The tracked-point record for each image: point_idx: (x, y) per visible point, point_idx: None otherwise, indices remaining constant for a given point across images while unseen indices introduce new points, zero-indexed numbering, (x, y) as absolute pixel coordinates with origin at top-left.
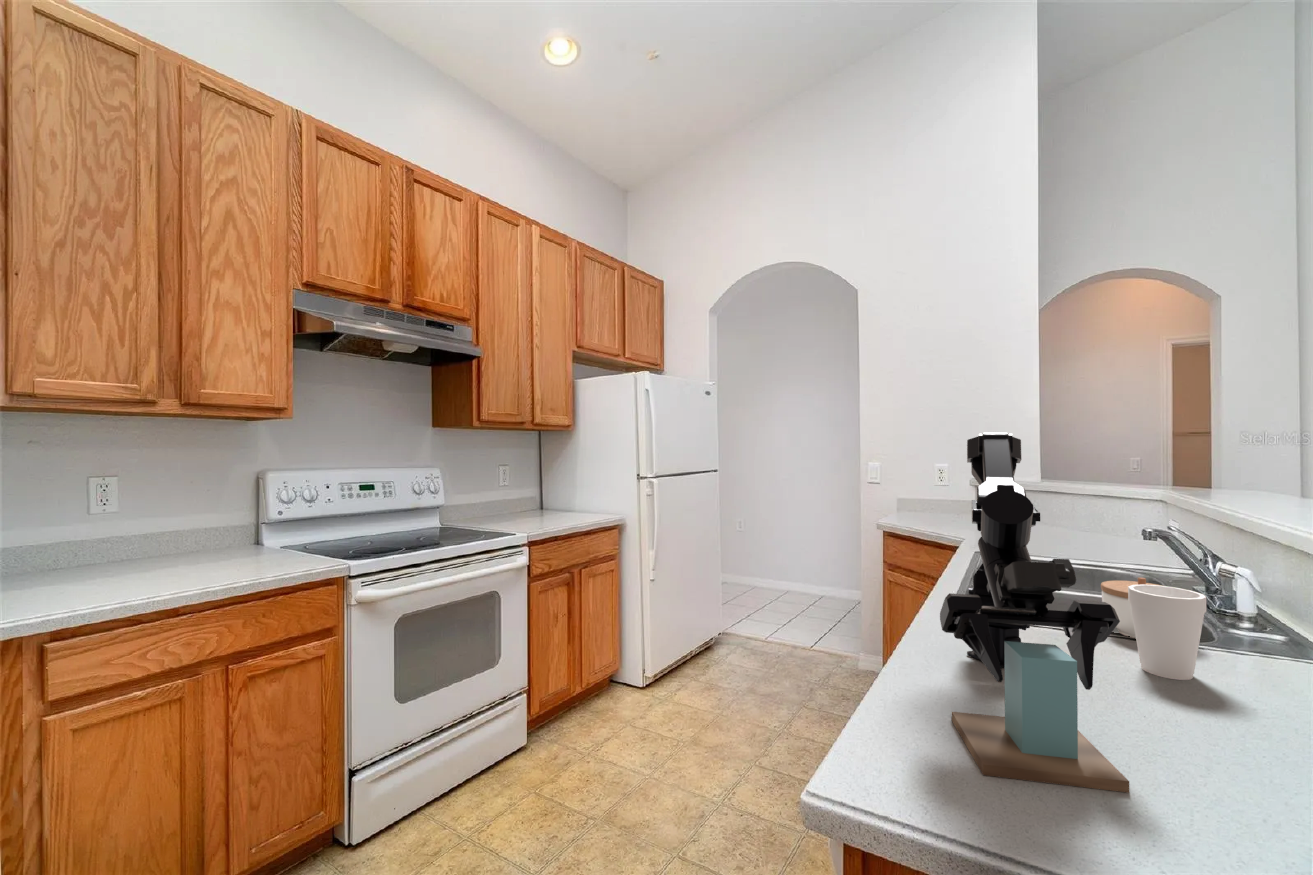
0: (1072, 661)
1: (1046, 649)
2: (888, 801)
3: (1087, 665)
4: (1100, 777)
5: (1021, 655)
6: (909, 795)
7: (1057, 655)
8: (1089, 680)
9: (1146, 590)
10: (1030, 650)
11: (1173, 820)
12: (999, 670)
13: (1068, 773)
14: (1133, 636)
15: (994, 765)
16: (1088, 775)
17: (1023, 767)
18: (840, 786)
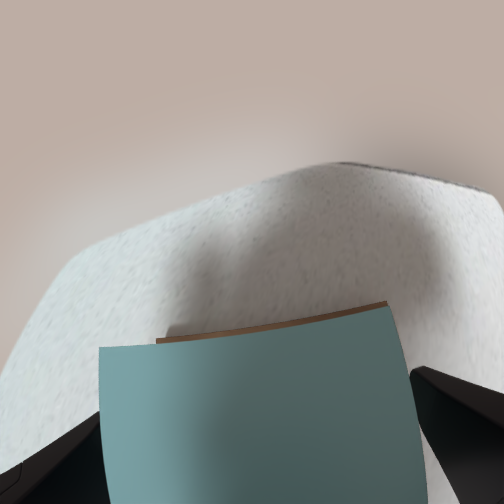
0: (119, 346)
1: None
2: (454, 203)
3: (63, 446)
4: (197, 336)
5: (390, 335)
6: (444, 220)
7: (165, 426)
8: (96, 420)
9: None
10: (318, 476)
11: (141, 289)
12: (432, 378)
13: (249, 329)
14: None
15: (369, 305)
16: (215, 336)
17: (323, 320)
18: (491, 213)
